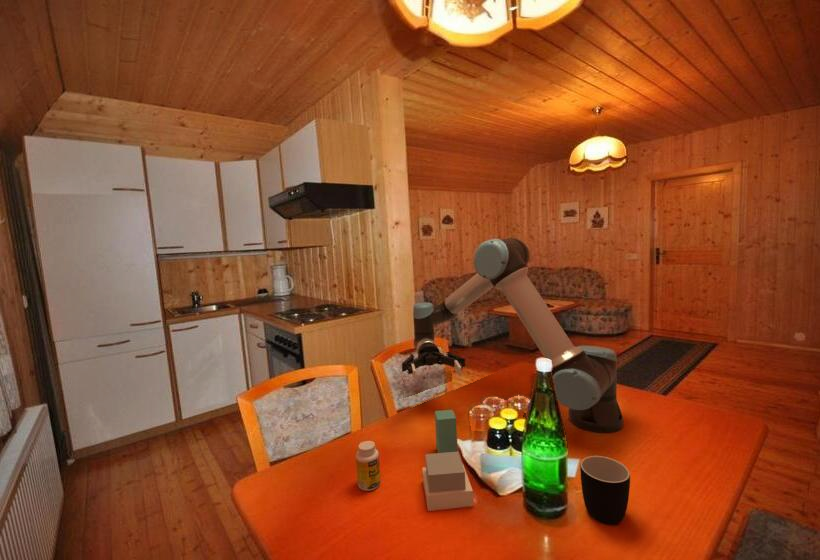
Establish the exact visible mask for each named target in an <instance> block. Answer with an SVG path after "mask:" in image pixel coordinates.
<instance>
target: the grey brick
mask: <svg viewBox="0 0 820 560" xmlns="http://www.w3.org/2000/svg"><path fill="white" fill-rule="evenodd" d="M424 457H425V467H426V472H427V479H428V486H429V492H440V491H452V490H464V489H466V486H465V471H466V470H465V471H464V468H465V467H464V468H463V465H464V464H463V462H462V459H461V455H460V451H458V452H446V453H438V452H437V453H425V456H424ZM462 464H463V465H462Z"/></svg>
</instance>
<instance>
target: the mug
mask: <svg viewBox="0 0 820 560" xmlns="http://www.w3.org/2000/svg"><path fill="white" fill-rule="evenodd" d="M579 466H580V482H581V483H580V484H581V493H582V497H583V503H584V507H585V509H586V511H587V513H588V515H589V516H590V518H592V519H593V520H594V521H596V522H598V523H600V524H602V525H605V526H617V525H620V523H621V522H623V520H624V519H625V516H626V513H627V510H628V505H629V496H630V490H631V489H630V487H631V473H630V470H629V469H628V468H627V467H626V466H625V465H624V464H623V463H622V462H620V461H618V460H616V459H613V458H611V457H607V456H601V455H590V456H586V457H584V458H583V459H582V460H581V462H580V465H579Z"/></svg>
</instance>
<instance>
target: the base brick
mask: <svg viewBox="0 0 820 560" xmlns="http://www.w3.org/2000/svg"><path fill="white" fill-rule="evenodd" d="M462 465H463V468H464V471H465V486H466V489H464V490H452V491H440V492H429V486H428V479H427V472H426V466H425V467H422V484H423V489H424V496H425V501H426V506H427V512H431V511H439V510H440V511H441V510H450V509H458V508H469V507H474V490H473V488H472V485H471V483H470V479H469V476H468V473H467V471H466V468H465V466H464V463H462Z"/></svg>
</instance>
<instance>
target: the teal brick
mask: <svg viewBox="0 0 820 560" xmlns="http://www.w3.org/2000/svg"><path fill="white" fill-rule="evenodd" d="M434 423H435V442H436V446H435V447H436V451H437V453H446V452H459V451H458V449H459V448H458V431H457V418H456V415H455V412H454V410H453V409H444V410H435V411H434Z"/></svg>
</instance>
